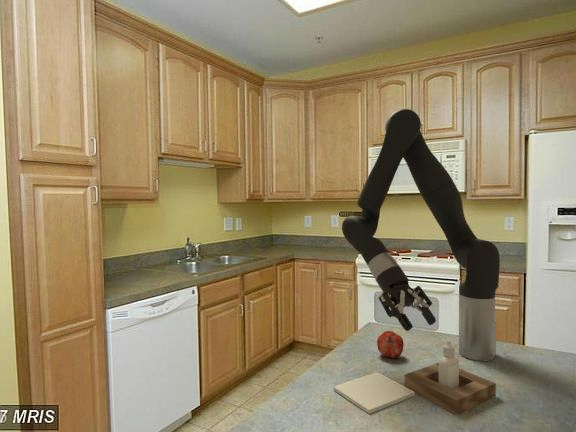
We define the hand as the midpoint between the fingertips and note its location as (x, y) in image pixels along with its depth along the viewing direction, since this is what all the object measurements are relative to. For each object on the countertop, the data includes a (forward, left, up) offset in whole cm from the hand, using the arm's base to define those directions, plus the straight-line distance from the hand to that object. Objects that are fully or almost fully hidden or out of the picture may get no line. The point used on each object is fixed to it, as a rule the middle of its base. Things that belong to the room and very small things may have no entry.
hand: (421, 326), depth 94 cm
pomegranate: (-4, -14, -13) cm, 20 cm away
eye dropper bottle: (0, +8, -13) cm, 15 cm away
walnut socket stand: (0, +8, -13) cm, 15 cm away
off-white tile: (+15, -1, -13) cm, 20 cm away
